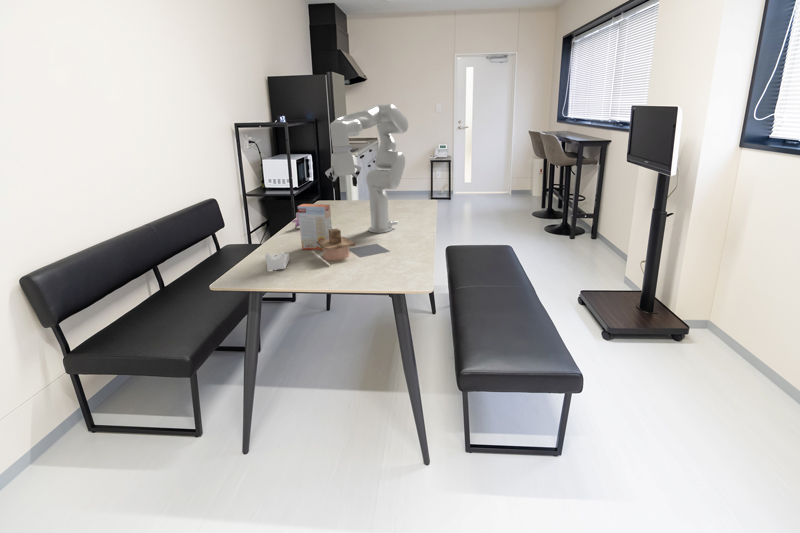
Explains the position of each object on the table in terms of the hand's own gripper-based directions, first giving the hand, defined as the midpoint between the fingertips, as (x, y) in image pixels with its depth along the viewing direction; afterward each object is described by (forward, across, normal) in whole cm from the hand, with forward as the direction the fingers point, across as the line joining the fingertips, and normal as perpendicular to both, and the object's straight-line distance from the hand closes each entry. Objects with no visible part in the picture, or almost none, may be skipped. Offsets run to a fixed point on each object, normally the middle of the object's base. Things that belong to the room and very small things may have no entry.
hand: (345, 187), depth 216 cm
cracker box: (+27, +16, -2) cm, 32 cm away
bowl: (+26, +14, +16) cm, 34 cm away
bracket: (+26, +39, +12) cm, 48 cm away
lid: (+20, +14, +16) cm, 29 cm away
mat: (+27, -2, +16) cm, 32 cm away
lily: (+28, +10, -44) cm, 53 cm away
